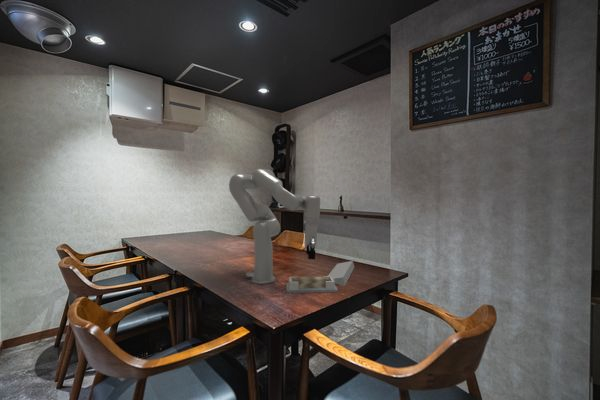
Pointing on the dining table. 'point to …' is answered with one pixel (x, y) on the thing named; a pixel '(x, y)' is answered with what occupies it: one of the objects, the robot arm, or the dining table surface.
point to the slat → (311, 282)
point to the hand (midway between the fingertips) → (310, 256)
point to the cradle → (293, 288)
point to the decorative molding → (342, 272)
